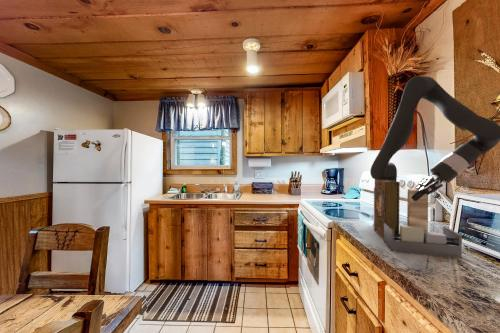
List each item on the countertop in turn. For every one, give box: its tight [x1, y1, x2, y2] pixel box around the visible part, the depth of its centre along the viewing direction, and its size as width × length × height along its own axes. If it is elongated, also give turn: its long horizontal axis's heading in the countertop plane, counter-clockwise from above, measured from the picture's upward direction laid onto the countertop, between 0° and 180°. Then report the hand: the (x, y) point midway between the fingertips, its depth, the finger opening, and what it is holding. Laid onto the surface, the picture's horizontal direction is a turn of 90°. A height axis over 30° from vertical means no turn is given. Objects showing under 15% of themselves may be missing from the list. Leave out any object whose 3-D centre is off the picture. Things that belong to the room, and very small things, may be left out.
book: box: [373, 179, 401, 240], centre depth 111 cm, size 16×6×25 cm, turn 168°
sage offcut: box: [399, 225, 424, 243], centre depth 91 cm, size 2×7×9 cm, turn 73°
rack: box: [383, 223, 463, 259], centre depth 93 cm, size 12×22×8 cm, turn 73°
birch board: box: [406, 188, 429, 233], centre depth 95 cm, size 3×6×22 cm, turn 74°
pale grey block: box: [424, 232, 446, 244], centre depth 89 cm, size 2×6×7 cm, turn 74°
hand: (411, 198), depth 96 cm, fingers closed on birch board, 3 cm apart
